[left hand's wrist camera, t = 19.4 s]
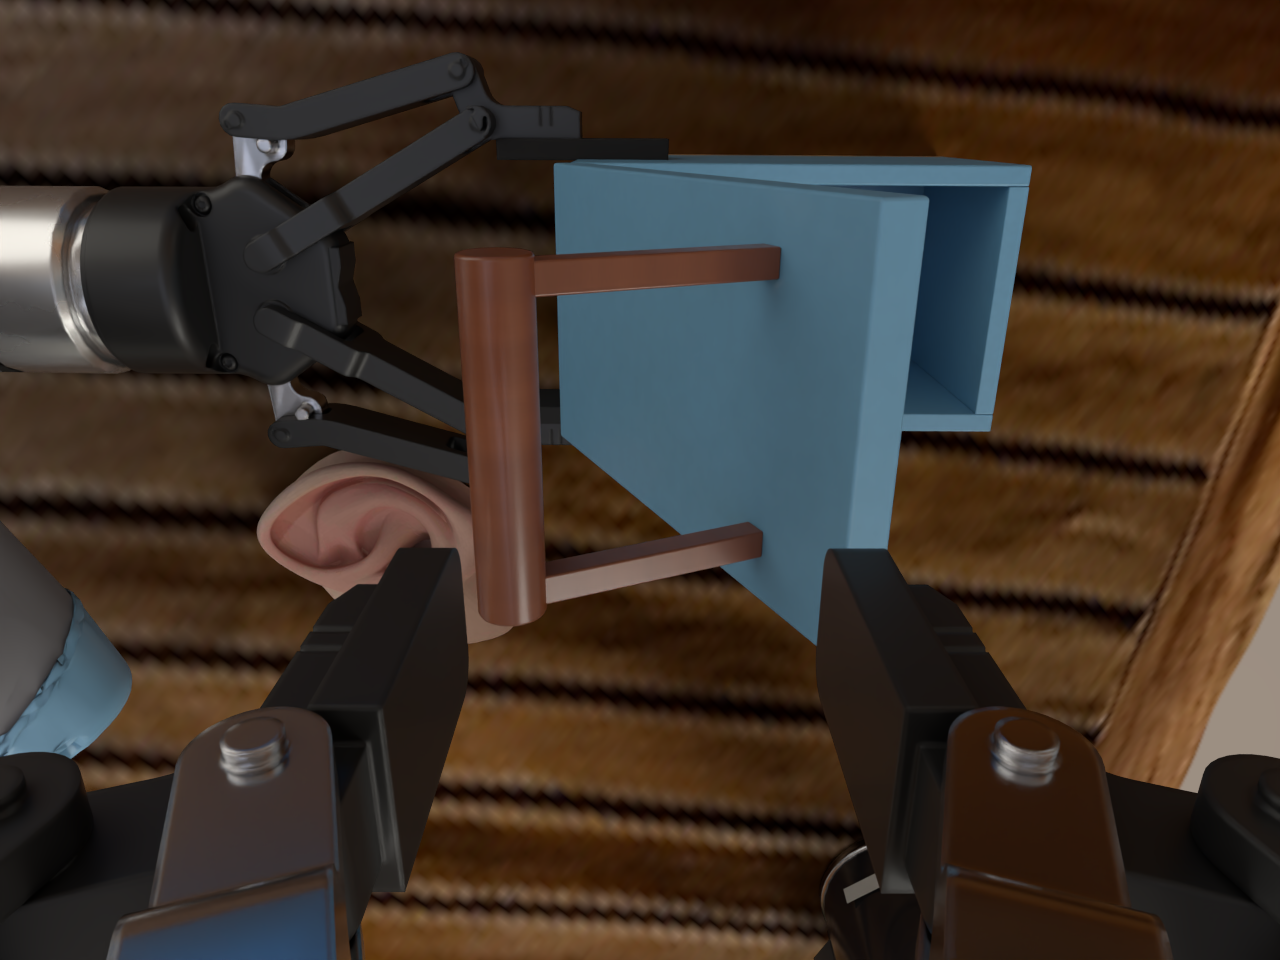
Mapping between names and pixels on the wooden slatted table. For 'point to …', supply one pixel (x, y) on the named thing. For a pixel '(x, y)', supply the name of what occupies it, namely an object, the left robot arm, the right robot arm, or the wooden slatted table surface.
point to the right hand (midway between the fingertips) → (665, 284)
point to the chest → (925, 263)
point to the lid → (694, 379)
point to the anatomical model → (370, 526)
